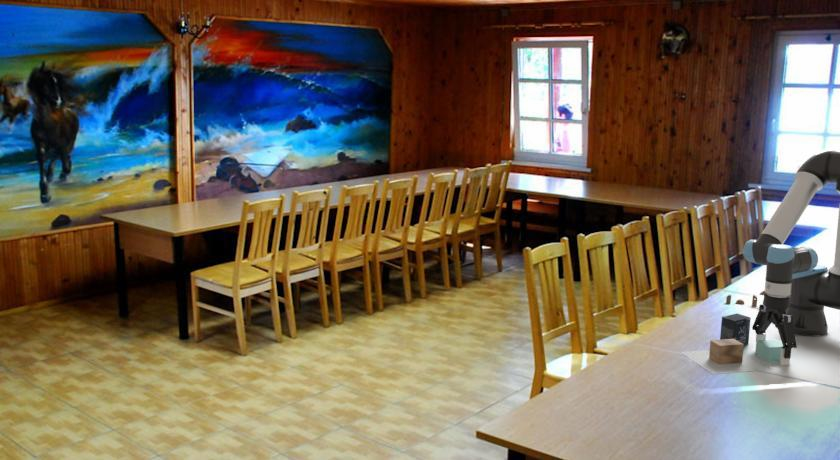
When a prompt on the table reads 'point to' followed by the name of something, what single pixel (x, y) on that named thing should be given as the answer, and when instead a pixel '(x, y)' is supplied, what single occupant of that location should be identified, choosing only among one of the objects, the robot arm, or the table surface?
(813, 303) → the robot arm
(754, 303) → the wooden blocks
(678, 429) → the table surface
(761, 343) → the teal brick
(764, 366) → the board
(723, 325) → the box
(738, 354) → the base brick
